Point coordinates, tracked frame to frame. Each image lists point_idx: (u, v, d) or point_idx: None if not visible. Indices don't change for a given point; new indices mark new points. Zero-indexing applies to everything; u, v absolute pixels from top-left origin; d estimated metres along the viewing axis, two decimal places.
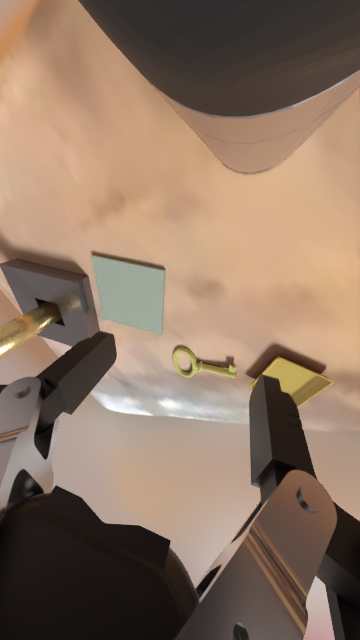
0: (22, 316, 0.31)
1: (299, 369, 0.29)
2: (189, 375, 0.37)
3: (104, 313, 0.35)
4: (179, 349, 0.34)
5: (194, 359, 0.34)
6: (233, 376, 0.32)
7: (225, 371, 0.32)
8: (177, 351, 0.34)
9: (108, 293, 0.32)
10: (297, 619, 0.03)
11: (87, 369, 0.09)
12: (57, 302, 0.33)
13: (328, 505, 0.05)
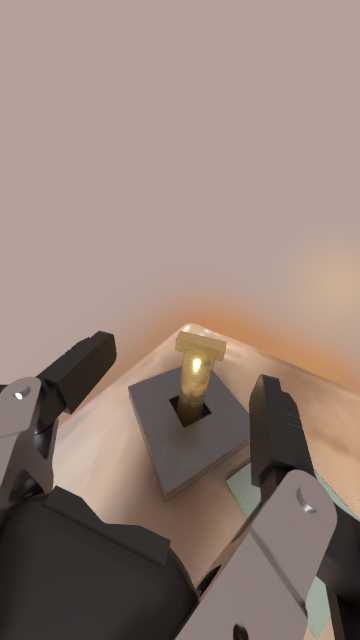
0: None
1: None
2: None
3: (236, 478, 0.25)
4: None
5: None
6: None
7: None
8: None
9: None
10: (297, 619, 0.03)
11: (87, 369, 0.09)
12: (214, 413, 0.30)
13: (328, 505, 0.05)
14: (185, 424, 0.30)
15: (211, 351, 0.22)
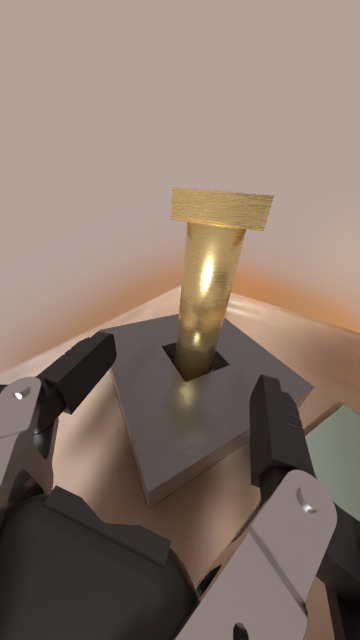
0: None
1: None
2: None
3: None
4: None
5: None
6: None
7: None
8: None
9: (338, 456, 0.14)
10: (297, 619, 0.03)
11: (87, 369, 0.09)
12: (234, 364, 0.19)
13: (328, 505, 0.05)
14: None
15: (243, 204, 0.11)
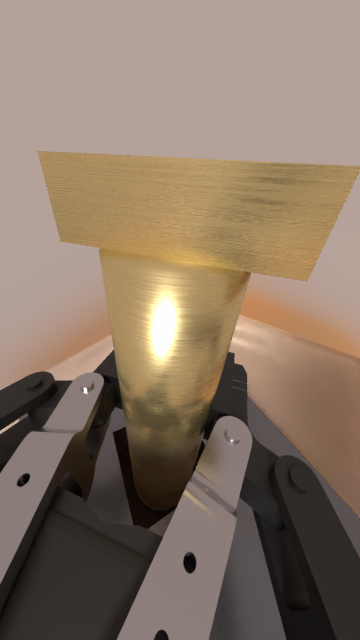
0: None
1: None
2: None
3: None
4: None
5: None
6: None
7: None
8: None
9: None
10: (229, 522, 0.04)
11: None
12: None
13: (247, 438, 0.06)
14: (150, 503, 0.11)
15: (246, 201, 0.03)
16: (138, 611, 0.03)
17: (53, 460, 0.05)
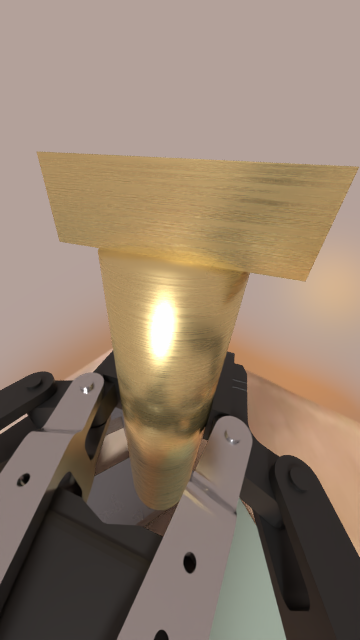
0: None
1: None
2: None
3: None
4: None
5: None
6: None
7: None
8: None
9: None
10: (229, 522, 0.04)
11: None
12: None
13: (247, 439, 0.06)
14: (150, 503, 0.11)
15: (244, 202, 0.03)
16: (138, 612, 0.03)
17: (53, 460, 0.05)
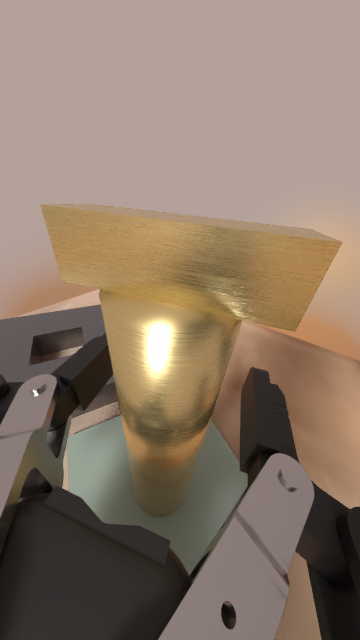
0: None
1: None
2: None
3: (85, 435, 0.16)
4: None
5: None
6: None
7: None
8: None
9: None
10: (279, 589, 0.03)
11: (99, 367, 0.09)
12: None
13: (307, 484, 0.05)
14: (150, 511, 0.12)
15: (237, 262, 0.04)
16: None
17: (14, 458, 0.05)
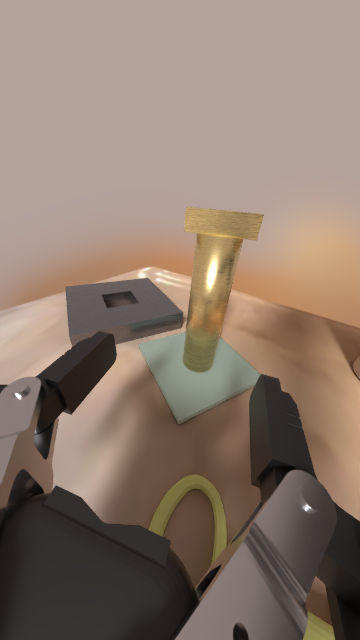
0: None
1: None
2: None
3: (149, 344, 0.26)
4: None
5: (226, 529, 0.12)
6: None
7: None
8: (188, 478, 0.14)
9: (183, 342, 0.27)
10: (297, 619, 0.03)
11: (87, 369, 0.09)
12: (141, 303, 0.31)
13: (328, 505, 0.05)
14: (195, 366, 0.22)
15: (240, 220, 0.14)
16: None
17: (1, 460, 0.05)
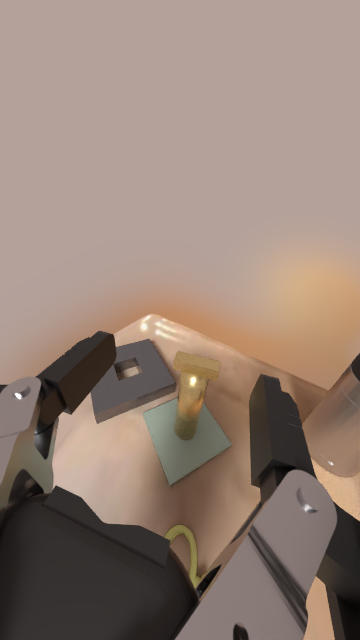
0: None
1: None
2: None
3: (150, 412, 0.36)
4: (180, 525, 0.24)
5: None
6: None
7: None
8: (176, 528, 0.23)
9: (175, 409, 0.37)
10: (297, 619, 0.03)
11: (87, 369, 0.09)
12: (144, 372, 0.41)
13: (328, 505, 0.05)
14: (182, 436, 0.32)
15: (206, 371, 0.24)
16: None
17: (1, 460, 0.05)
